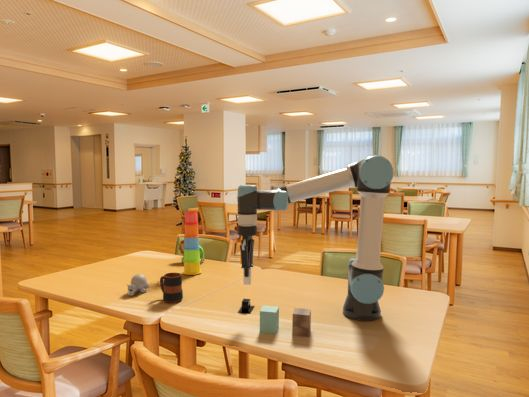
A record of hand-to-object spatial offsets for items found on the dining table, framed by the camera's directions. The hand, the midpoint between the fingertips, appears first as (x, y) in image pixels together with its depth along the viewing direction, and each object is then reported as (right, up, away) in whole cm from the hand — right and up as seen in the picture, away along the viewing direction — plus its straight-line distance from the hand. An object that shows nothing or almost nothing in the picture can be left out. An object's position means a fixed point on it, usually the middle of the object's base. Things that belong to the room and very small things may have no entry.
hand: (247, 284), depth 157 cm
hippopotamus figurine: (-54, -11, +31) cm, 63 cm away
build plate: (-1, -14, +12) cm, 18 cm away
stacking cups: (-34, -8, +66) cm, 75 cm away
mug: (-36, -12, +23) cm, 44 cm away
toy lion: (-39, -6, +91) cm, 99 cm away
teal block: (+9, -15, -9) cm, 20 cm away
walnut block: (+20, -15, -11) cm, 28 cm away
